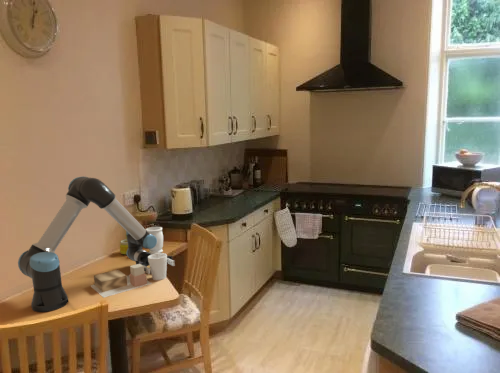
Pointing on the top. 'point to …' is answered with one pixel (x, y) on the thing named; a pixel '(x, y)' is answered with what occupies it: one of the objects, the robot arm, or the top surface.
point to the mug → (124, 246)
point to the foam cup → (158, 265)
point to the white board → (118, 290)
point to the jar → (159, 235)
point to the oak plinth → (110, 280)
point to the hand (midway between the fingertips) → (161, 267)
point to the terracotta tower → (137, 275)
